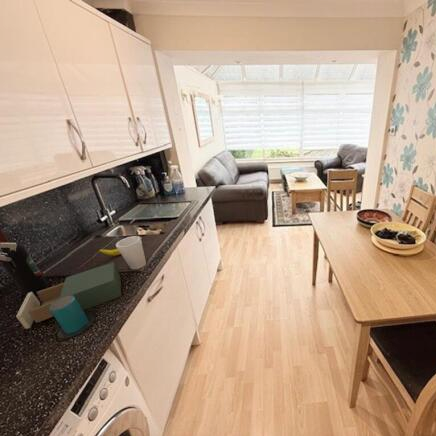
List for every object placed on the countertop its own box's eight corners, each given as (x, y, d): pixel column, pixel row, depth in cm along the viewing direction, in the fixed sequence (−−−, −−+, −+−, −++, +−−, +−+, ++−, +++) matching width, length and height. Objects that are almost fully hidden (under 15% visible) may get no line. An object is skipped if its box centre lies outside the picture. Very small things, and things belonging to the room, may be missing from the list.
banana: (145, 246, 126) (141, 235, 124) (103, 261, 116) (97, 250, 113) (144, 244, 128) (140, 234, 126) (102, 259, 118) (96, 248, 115)
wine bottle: (22, 292, 99) (-24, 228, 86) (46, 281, 104) (6, 220, 92) (26, 298, 95) (-22, 233, 82) (51, 287, 100) (9, 224, 87)
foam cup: (145, 269, 107) (134, 245, 101) (123, 273, 106) (111, 248, 100) (152, 257, 116) (143, 234, 110) (132, 260, 114) (122, 237, 109)
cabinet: (69, 315, 85) (58, 299, 82) (75, 292, 96) (65, 277, 93) (121, 295, 92) (113, 280, 89) (120, 276, 104) (113, 261, 100)
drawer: (20, 331, 79) (10, 318, 76) (32, 306, 89) (23, 294, 87) (80, 308, 87) (72, 296, 84) (84, 288, 97) (77, 276, 94)
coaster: (55, 344, 74) (54, 343, 74) (60, 323, 82) (60, 322, 82) (94, 328, 79) (93, 327, 79) (96, 309, 87) (95, 308, 87)
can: (62, 336, 76) (46, 313, 72) (66, 323, 81) (50, 301, 77) (87, 326, 79) (73, 303, 75) (89, 314, 84) (75, 292, 80)
